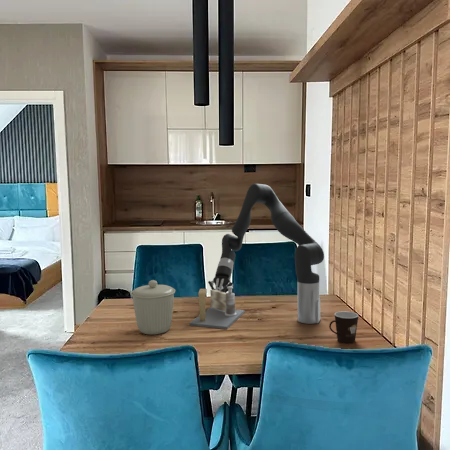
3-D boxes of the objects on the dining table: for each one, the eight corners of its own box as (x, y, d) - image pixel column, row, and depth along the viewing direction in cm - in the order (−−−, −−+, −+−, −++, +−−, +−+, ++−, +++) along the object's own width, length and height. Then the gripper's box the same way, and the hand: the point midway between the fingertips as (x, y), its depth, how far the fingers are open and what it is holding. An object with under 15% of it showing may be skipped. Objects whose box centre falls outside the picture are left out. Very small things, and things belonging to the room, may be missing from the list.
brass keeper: (206, 323, 192) (205, 293, 191) (199, 323, 193) (198, 293, 191) (207, 317, 201) (206, 288, 199) (200, 317, 201) (199, 288, 199)
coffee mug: (353, 336, 173) (354, 310, 172) (361, 344, 164) (361, 317, 163) (323, 337, 173) (323, 311, 172) (329, 345, 164) (329, 318, 163)
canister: (173, 338, 175) (171, 285, 173) (127, 338, 176) (125, 286, 174) (179, 323, 193) (177, 275, 191) (137, 323, 194) (135, 275, 192)
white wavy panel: (236, 312, 200) (236, 293, 199) (230, 314, 198) (229, 295, 197) (215, 306, 212) (215, 287, 211) (209, 307, 209) (208, 289, 208)
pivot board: (244, 312, 207) (244, 283, 205) (227, 329, 184) (226, 296, 183) (210, 309, 213) (209, 281, 211) (189, 325, 190) (188, 293, 189)
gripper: (210, 264, 221) (201, 294, 211) (235, 265, 216) (227, 296, 206) (214, 272, 226) (205, 302, 216) (239, 274, 222) (231, 305, 211)
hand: (216, 299), depth 211 cm, fingers closed
